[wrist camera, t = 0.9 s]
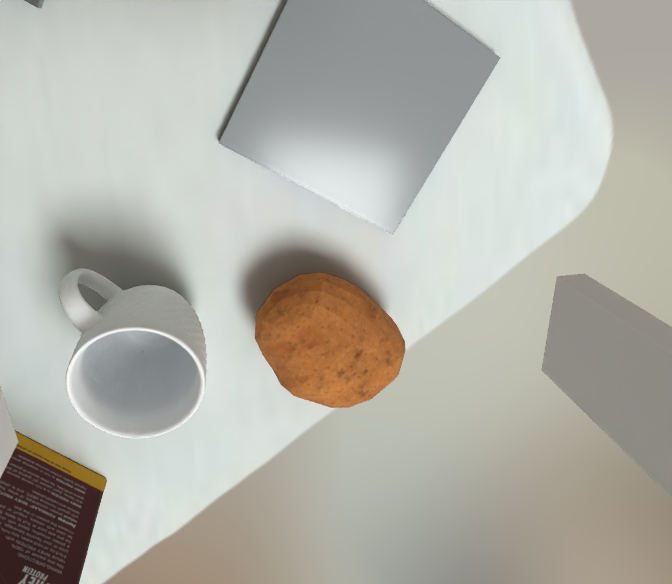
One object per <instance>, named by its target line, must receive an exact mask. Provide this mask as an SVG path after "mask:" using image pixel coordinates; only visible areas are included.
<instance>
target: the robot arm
mask: <svg viewBox="0 0 672 584" xmlns="http://www.w3.org/2000/svg"><path fill="white" fill-rule="evenodd" d="M542 371H543V372H544V373H545V374H546V375H547V376H548V377H549V378H550V379H551V380H552V381H553V382H554V383H555V384H556V385H557V386H558V387H559V388H561V390H562V391H563V392H564V393H565V394H566V395H567V396H568V397H570V399H571V400H573V401H574V403H576V404H577V405H578V406H579V407H580V408H581V409H582V410H583V411H584V412H585V413H586V414H587V415H588V416H589V417H590V418H591V419H592V420H593V421H594V422H595V423H596V424H597V425H598V426H599V427H600V428H601V429H602V430H603V431H604V432H605V433H606V434H607V435H608V436H609V437H610V438H611V439H612V440H613V441H614V442H615V443H616V444H617V445H618V446H619V447H620V448H621V449H622V450H623V451H624V452H625V453H626V454H627V455H628V456H629V457H630V458H631V459H633V461H635V462H636V463H637V464H638V465H639V466H640V467H641V468H642V469H643V470H644V471H645V472H646V473H647V474H648V475H649V476H650V477H651V478H652V479H653V480H654V481H655V482H656V483H657V484H658V485H659V486H660V487H661V488H662V489H663V490H664V491H665V492H666V493H667V494H668V495H669V496H670V497H671V498H672V327H671V326H669V325H668V324H666V323H664V322H663V321H661V320H659V319H658V318H656V317H654V316H653V315H651V314H650V313H648V312H646V311H645V310H643V309H641V308H640V307H638V306H637V305H635V304H633V303H632V302H630V301H628V300H627V299H625V298H623V297H622V296H620V295H619V294H617V293H615V292H614V291H612V290H610V289H609V288H607V287H605V286H604V285H602V284H600V283H599V282H597V281H596V280H594V279H592V278H590V277H589V276H587V275H586V274H577V275H567V276H558V277H557V279H556V285H555V292H554V297H553V304H552V310H551V316H550V322H549V328H548V334H547V340H546V347H545V353H544V359H543V365H542ZM17 443H18V439H17V436H16V433H15V430H14V427H13V424H12V421H11V418H10V415H9V412H8V408H7V405H6V402H5V399H4V396H3V393H2V390H1V387H0V478H1V476H2V474H3V472H4V470H5V468H6V466H7V464H8V462H9V459H10V457H11V455H12V453H13V451H14V449H15V447H16V445H17Z"/></svg>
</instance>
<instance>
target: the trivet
mask: <svg viewBox="0 0 672 584" xmlns="http://www.w3.org/2000/svg"><path fill="white" fill-rule="evenodd" d="M499 59H500V57H499V56H497V55H496V54H495V53H493V52H492V51H491V50H489V49H488V48H486V47H485V46H484V45H482V44H481V43H480V42H478V41H477V40H476V39H474V38H473V37H472V36H470V35H469V34H468V33H466V32H465V31H463V30H462V29H461V28H459V27H458V26H457V25H455V24H454V23H453V22H451V21H450V20H449V19H447V18H446V17H445V16H443V15H442V14H440V13H439V12H438V11H436V10H435V9H434V8H432V7H431V6H430V5H428V4H427V3H426V2H424V1H423V0H287V2H286V4H285V6H284V8H283V10H282V12H281V14H280V16H279V18H278V20H277V22H276V24H275V27H274V29H273V31H272V33H271V35H270V37H269V39H268V41H267V43H266V45H265V47H264V49H263V51H262V53H261V56H260V58H259V60H258V62H257V64H256V66H255V68H254V70H253V72H252V74H251V76H250V78H249V80H248V82H247V85H246V87H245V89H244V91H243V93H242V95H241V97H240V99H239V101H238V103H237V105H236V107H235V109H234V111H233V114H232V116H231V118H230V120H229V122H228V124H227V126H226V128H225V130H224V132H223V134H222V136H221V138H220V140H219V144H221V145H223V146H225V147H227V148H229V149H231V150H233V151H234V152H236V153H238V154H240V155H242V156H244V157H246V158H248V159H250V160H252V161H253V162H255V163H257V164H259V165H261V166H263V167H265V168H267V169H269V170H271V171H272V172H274V173H276V174H278V175H280V176H282V177H284V178H286V179H288V180H290V181H291V182H293V183H295V184H297V185H299V186H301V187H303V188H305V189H307V190H309V191H310V192H312V193H314V194H316V195H318V196H320V197H322V198H324V199H326V200H328V201H329V202H331V203H333V204H335V205H337V206H339V207H341V208H343V209H345V210H347V211H348V212H350V213H352V214H354V215H356V216H358V217H360V218H362V219H364V220H366V221H367V222H369V223H371V224H373V225H375V226H377V227H379V228H381V229H383V230H385V231H386V232H388V233H390V234H392V235H393V234H394V232H395V231H396V229H397V227H398V226H399V224H400V222H401V221H402V219H403V217H404V216H405V214H406V212H407V211H408V209H409V207H410V206H411V204H412V203H413V201H414V199H415V198H416V196H417V194H418V193H419V191H420V189H421V188H422V186H423V184H424V183H425V181H426V179H427V178H428V176H429V175H430V173H431V171H432V170H433V168H434V166H435V165H436V163H437V161H438V160H439V158H440V156H441V155H442V153H443V151H444V150H445V148H446V147H447V145H448V143H449V142H450V140H451V138H452V137H453V135H454V133H455V132H456V130H457V128H458V127H459V125H460V123H461V122H462V120H463V119H464V117H465V115H466V114H467V112H468V110H469V109H470V107H471V105H472V104H473V102H474V100H475V99H476V97H477V95H478V94H479V92H480V91H481V89H482V87H483V86H484V84H485V82H486V81H487V79H488V77H489V76H490V74H491V72H492V71H493V69H494V67H495V66H496V64H497V63H498V61H499Z"/></svg>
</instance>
